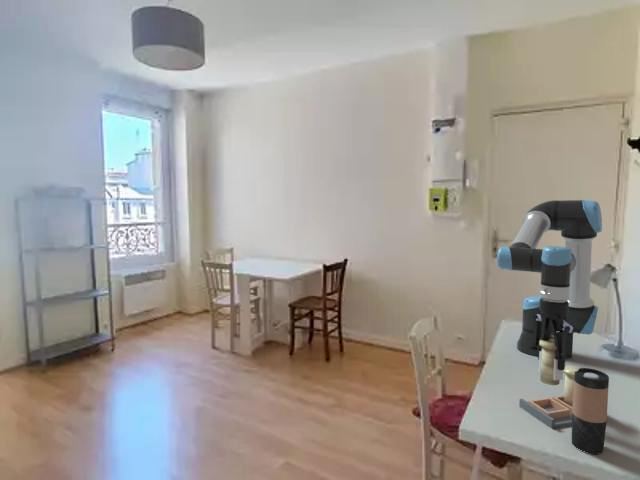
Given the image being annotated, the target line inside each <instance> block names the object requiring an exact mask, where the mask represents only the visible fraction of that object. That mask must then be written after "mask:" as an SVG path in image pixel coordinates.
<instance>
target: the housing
mask: <svg viewBox="0 0 640 480" xmlns="http://www.w3.org/2000/svg"><path fill="white" fill-rule="evenodd" d="M580 368H581V367H579V366H575V365H565V369H564V370H563V374H564V389H563V390H564V391H563V392H564V393H563V395H557V396H552V398H551V397H544V398H538V399H537V398H536V399H532V400H528V401H527V400H525V399H524V398H519V402H518V404H519V406H518V407H520V408H521V409H522V410H523V411H525V412H526V413H529V414H530V415H531V416H533V417H534V418H536V419H537V420H538V421H540V422H541V423H543V424H545V425H546V426H547V427H549V428H550V429H557V428H562V427H563V428H564V427H568V426H572V406H573V392H574V377H575V371H578V370H579V369H580Z"/></svg>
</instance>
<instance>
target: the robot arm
mask: <svg viewBox="0 0 640 480" xmlns="http://www.w3.org/2000/svg"><path fill="white" fill-rule="evenodd" d="M601 210H602V209H601V206H600V203H599V202H597V201H596V200H585V199H583V200H582V199H575V200H574V199H573V200H571V199H570V200H569V199H568V200H556V199H555V200H547V201H545V202H542V203H539V204H537V205H535V206H534V207H531V208H530V210H528V211H527V212H526V213H525V215H524V217H523V219H522V226H521V228H519V231H518V233H517V234H516V237H514V240H513V241H512V243H511V245H510V246H501V247H499V249H498V251H497V255H496V256H497V257H496V262H497V266H498V268H500V269H501V270H502V269H503V270H509V271H519V272H531V273H539V274H541V275H540V287H539V288H540V289H539V290H540V291H539V295H531V296H527V297H526V298H525V299H524V300H523V304H522V305H523V306H522V325H521V332H520V335H519V339H518V340H517V343H516V348H517V350H518V351H520V352H521V353H524V354H527V355H531V356H535V357H537V360H538V373H540V374H541V356H542V347H541V346H540V345H539V342H540V340H549V339H552V340H554V343H555V346H557V350H556V357H554V369H553V380H560V381H561V380H563V379H564V372H563V370H564V369H565V366H566V360H572V358H573V345H574V334H578V335H591V334H593V332H594V329H595V325H596V320H597V315H598V311H599V307H598V305H595V302H594V301H595V300H593V299H592V298H591V295H590V292H591V271H592V270H591V268H592V265H591V264H592V248H593V247H592V246H593V245H592V244H593V243H592V242H593V240H594V239H595V238H597V237H598V233H601V232H602V230H603V222H602V221H603V220H602V212H601ZM547 231H557V232H558V231H559V232H560V233H561V237H562V238H563V239H564V240H565V246H560V245H559V246H558V245H557V246H556V245H555V246H552V245H550V246H545V247H543V248H542V249H541V248H537V247H538V245H539V243H540V241H541V240H542V237H543V235H544V234H545V233H546V232H547Z"/></svg>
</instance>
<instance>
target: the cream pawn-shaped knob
mask: <svg viewBox="0 0 640 480" xmlns="http://www.w3.org/2000/svg"><path fill="white" fill-rule="evenodd" d="M539 345H540V346H541V347H542V356H541V373H540V382H541V383H543V384H546V385H549V386H558V385H560V381H561V380H553V369H554V357H556V350H557V346H555V343H554V340H552V339H549V340H540V342H539Z"/></svg>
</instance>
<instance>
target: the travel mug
mask: <svg viewBox="0 0 640 480" xmlns="http://www.w3.org/2000/svg"><path fill="white" fill-rule="evenodd" d="M609 383H610V376H609V375H608V374H607V373H605V372H603V371H601V370H598V369H595V368H589V367H588V368H587V367H580V369H579V370H578V371H575V377H574V392H573V406H572V425H571V445H572V446H573V445H574V446H575V447H576V448H575V447H574V446H573V447H574V448H575V449H577V448H578V449H580V450H582V451H581V452H583V451H585V452H588V453H587V454H589V453H593V454H592V455H599V454H598V453H601V454H602V453H604V447H605V439H606V430H607V429H606V428H607V422H608V421H607V419H608V401H609ZM578 449H577V450H578ZM580 450H579V451H580ZM585 452H584V453H585Z"/></svg>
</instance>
